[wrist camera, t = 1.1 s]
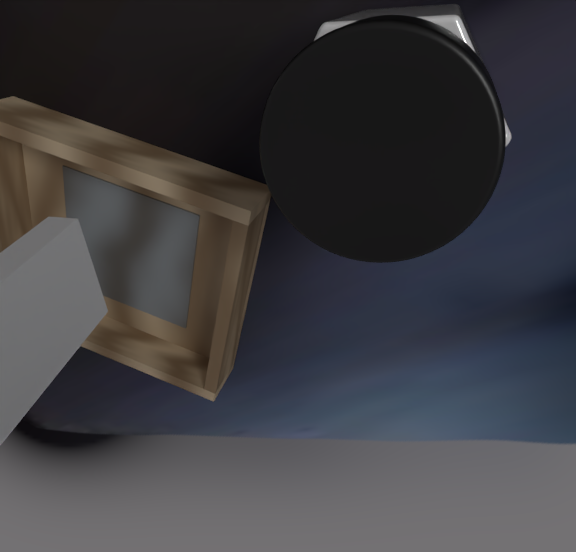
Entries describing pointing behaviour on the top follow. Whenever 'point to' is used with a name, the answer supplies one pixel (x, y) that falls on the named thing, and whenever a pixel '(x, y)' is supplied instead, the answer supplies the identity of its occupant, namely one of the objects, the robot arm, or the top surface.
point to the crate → (141, 238)
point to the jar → (384, 134)
